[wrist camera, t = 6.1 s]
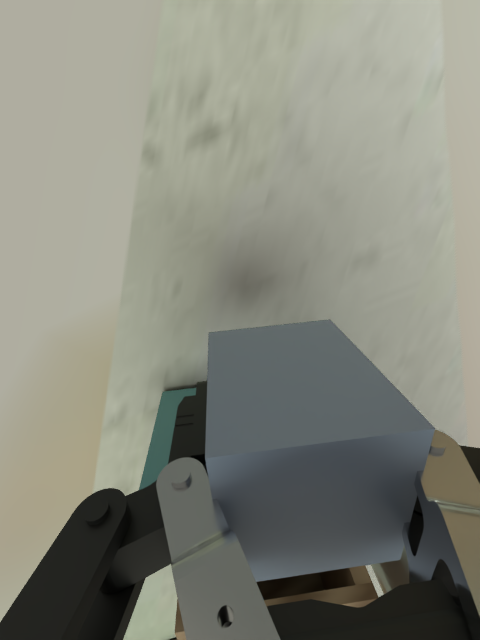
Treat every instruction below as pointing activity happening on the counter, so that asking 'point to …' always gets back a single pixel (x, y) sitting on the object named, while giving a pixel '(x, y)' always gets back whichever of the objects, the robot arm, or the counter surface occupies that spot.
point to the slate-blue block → (309, 449)
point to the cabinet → (312, 590)
